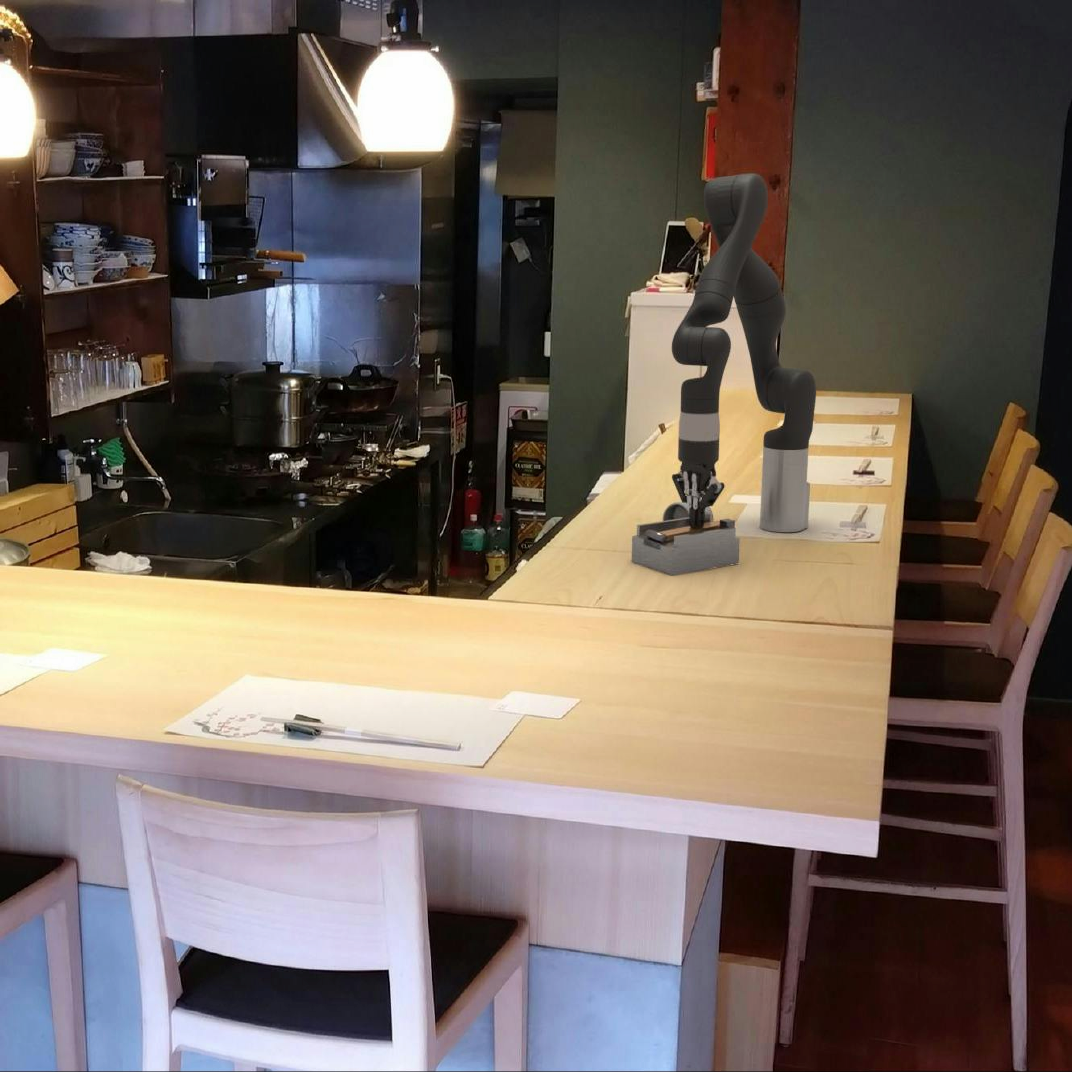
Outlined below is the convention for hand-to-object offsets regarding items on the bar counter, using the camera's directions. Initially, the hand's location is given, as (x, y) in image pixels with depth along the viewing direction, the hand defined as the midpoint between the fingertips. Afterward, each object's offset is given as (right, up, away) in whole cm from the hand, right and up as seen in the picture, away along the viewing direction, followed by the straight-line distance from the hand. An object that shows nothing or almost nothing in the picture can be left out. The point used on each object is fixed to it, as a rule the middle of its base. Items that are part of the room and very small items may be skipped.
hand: (696, 527), depth 252 cm
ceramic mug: (0, -2, +22) cm, 22 cm away
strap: (-2, -1, -1) cm, 2 cm away
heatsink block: (-2, -7, 0) cm, 7 cm away
